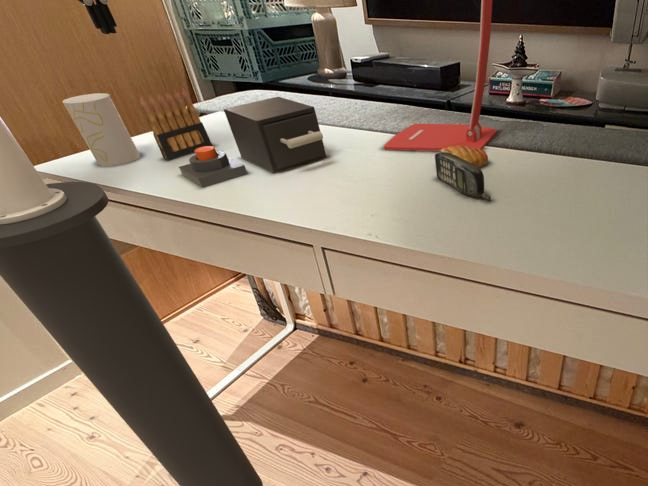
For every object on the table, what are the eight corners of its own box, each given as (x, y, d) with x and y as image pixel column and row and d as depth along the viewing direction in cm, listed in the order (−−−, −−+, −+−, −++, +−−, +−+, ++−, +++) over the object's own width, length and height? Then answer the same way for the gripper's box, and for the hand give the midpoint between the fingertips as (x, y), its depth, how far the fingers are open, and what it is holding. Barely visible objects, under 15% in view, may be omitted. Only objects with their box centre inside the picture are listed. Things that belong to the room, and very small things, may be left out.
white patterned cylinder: (89, 164, 99) (52, 102, 91) (120, 152, 105) (88, 92, 97) (118, 167, 97) (84, 104, 89) (148, 154, 103) (118, 93, 95)
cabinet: (326, 157, 97) (314, 106, 91) (274, 173, 91) (256, 120, 84) (292, 143, 105) (278, 96, 99) (241, 158, 99) (223, 108, 92)
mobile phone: (431, 152, 83) (478, 173, 73) (445, 148, 84) (493, 168, 74) (434, 180, 86) (479, 203, 76) (447, 176, 87) (494, 199, 78)
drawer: (337, 158, 93) (327, 117, 88) (289, 174, 88) (275, 130, 83) (293, 142, 103) (282, 103, 98) (247, 155, 97) (232, 114, 92)
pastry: (480, 156, 94) (480, 137, 91) (493, 167, 89) (493, 147, 87) (437, 164, 91) (435, 144, 89) (448, 176, 87) (447, 155, 84)
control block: (202, 187, 87) (194, 168, 84) (182, 175, 92) (174, 157, 90) (247, 173, 91) (241, 155, 89) (226, 162, 97) (219, 145, 94)
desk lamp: (373, 123, 115) (333, -103, 88) (523, 131, 106) (530, -119, 79) (336, 146, 102) (277, -110, 75) (502, 158, 93) (502, -129, 66)
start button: (202, 162, 88) (198, 153, 87) (195, 158, 90) (191, 149, 88) (221, 157, 90) (217, 148, 88) (213, 153, 92) (209, 144, 90)
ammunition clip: (208, 144, 106) (184, 86, 98) (212, 146, 106) (188, 86, 98) (163, 158, 100) (133, 97, 92) (168, 160, 99) (138, 98, 91)
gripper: (-22, -122, 62) (65, 40, 75) (101, -118, 70) (161, 29, 82) (-29, -117, 66) (54, 37, 79) (88, -113, 74) (147, 26, 86)
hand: (109, 32), depth 81 cm, fingers closed
